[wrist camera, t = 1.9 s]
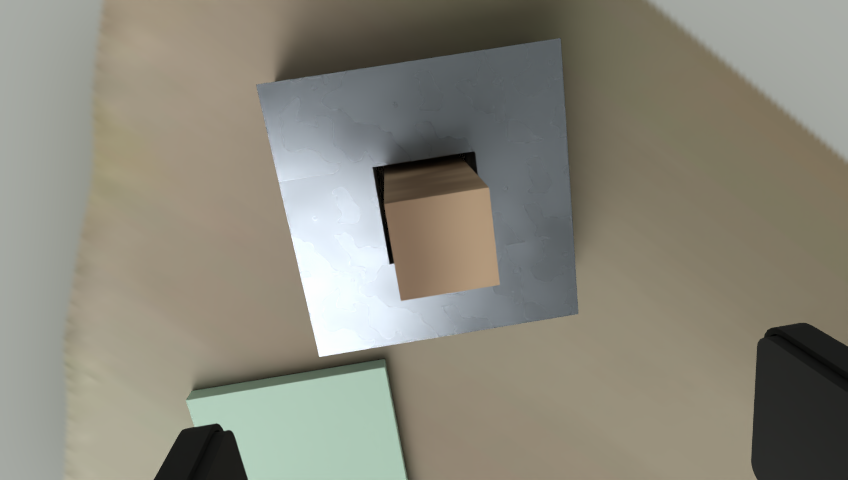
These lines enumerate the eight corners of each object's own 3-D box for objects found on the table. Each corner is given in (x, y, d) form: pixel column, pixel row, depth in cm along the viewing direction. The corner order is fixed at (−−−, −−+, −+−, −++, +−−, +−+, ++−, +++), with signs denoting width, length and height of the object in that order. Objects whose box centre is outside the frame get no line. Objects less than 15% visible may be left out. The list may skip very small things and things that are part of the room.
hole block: (536, 43, 28) (560, 38, 24) (555, 285, 32) (578, 313, 29) (273, 83, 28) (256, 84, 24) (327, 323, 32) (319, 356, 28)
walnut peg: (455, 151, 30) (489, 187, 20) (464, 220, 31) (499, 284, 21) (384, 162, 30) (383, 204, 20) (396, 231, 31) (400, 301, 21)
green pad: (384, 358, 33) (384, 367, 32) (413, 511, 37) (414, 523, 36) (191, 391, 33) (185, 400, 32) (240, 541, 36) (236, 554, 35)
